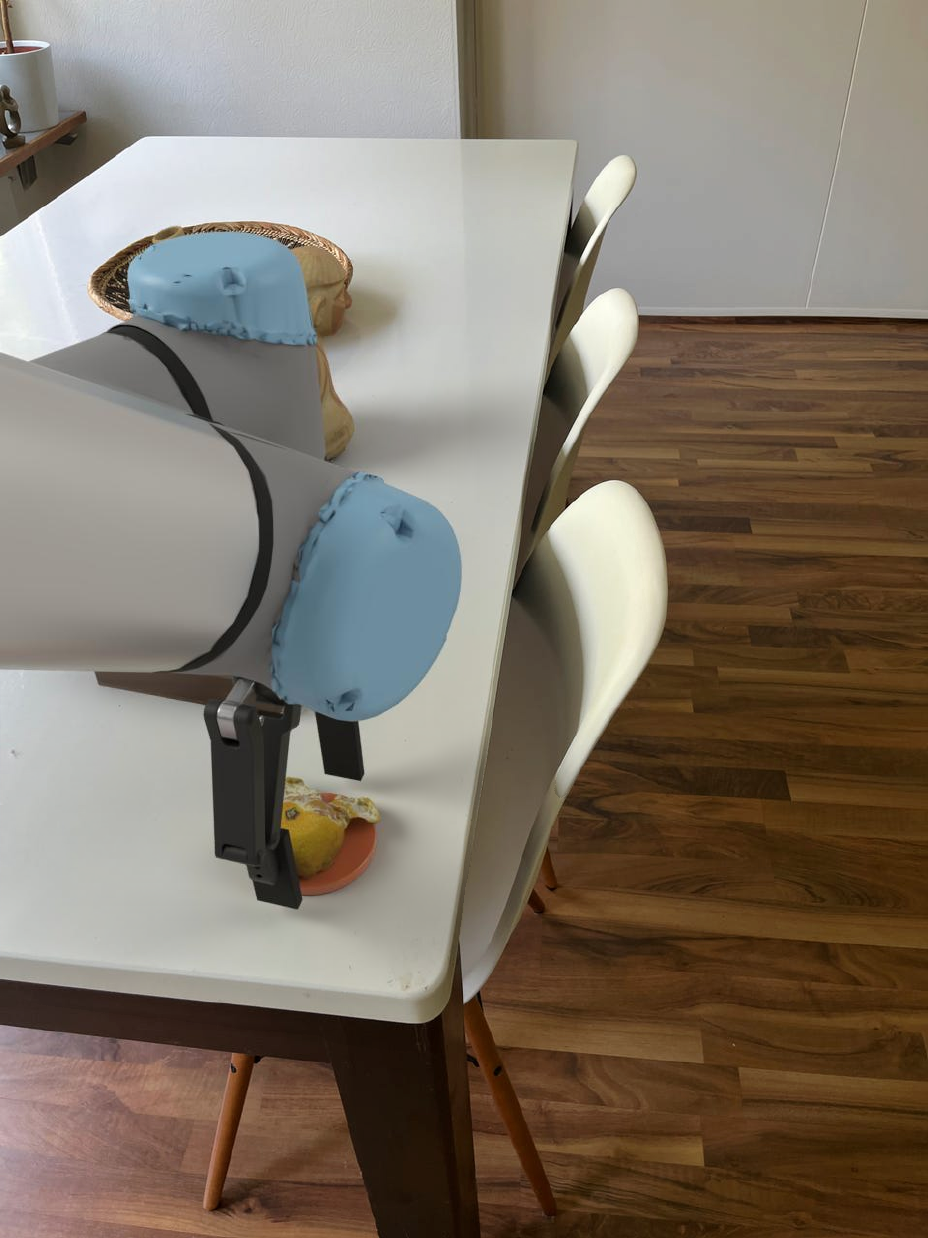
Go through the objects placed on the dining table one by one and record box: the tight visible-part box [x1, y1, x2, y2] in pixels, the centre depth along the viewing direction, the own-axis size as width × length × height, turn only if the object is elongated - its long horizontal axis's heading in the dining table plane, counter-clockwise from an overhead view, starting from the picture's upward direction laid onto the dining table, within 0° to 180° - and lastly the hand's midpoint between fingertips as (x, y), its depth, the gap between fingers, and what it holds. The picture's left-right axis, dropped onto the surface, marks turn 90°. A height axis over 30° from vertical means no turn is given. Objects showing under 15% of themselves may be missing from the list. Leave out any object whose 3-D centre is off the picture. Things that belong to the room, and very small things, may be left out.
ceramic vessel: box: [151, 225, 355, 461], centre depth 103 cm, size 17×20×25 cm
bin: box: [93, 671, 284, 713], centre depth 86 cm, size 25×16×3 cm, turn 164°
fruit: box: [281, 776, 381, 877], centre depth 64 cm, size 8×8×4 cm
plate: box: [298, 792, 378, 896], centre depth 65 cm, size 8×8×1 cm
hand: (314, 833), depth 65 cm, fingers open, 10 cm apart
